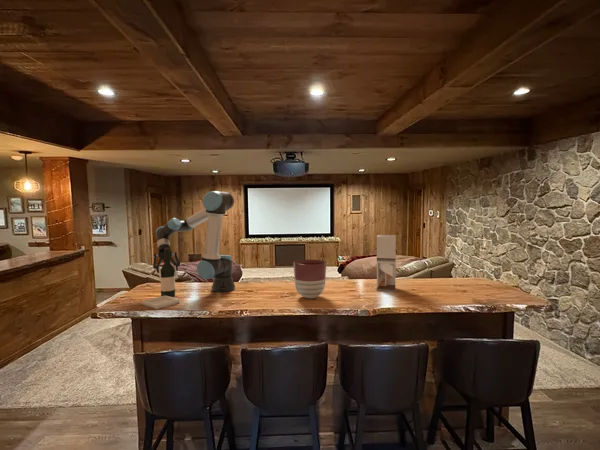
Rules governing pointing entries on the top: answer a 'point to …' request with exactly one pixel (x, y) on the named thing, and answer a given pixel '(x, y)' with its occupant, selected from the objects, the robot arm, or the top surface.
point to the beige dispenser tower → (386, 262)
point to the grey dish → (160, 302)
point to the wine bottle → (167, 276)
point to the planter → (310, 277)
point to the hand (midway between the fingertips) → (168, 276)
